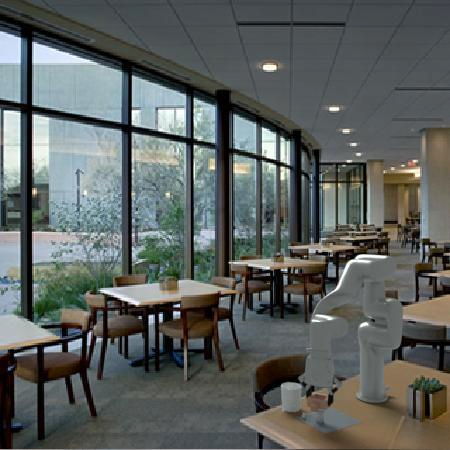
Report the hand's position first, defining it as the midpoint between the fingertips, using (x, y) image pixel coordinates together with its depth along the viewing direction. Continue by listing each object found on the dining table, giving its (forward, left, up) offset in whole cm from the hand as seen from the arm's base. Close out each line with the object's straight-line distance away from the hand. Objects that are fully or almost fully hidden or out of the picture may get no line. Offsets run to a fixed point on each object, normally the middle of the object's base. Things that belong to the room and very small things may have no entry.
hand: (319, 402), depth 171 cm
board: (-4, 0, -8) cm, 9 cm away
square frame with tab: (+2, +1, -1) cm, 2 cm away
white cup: (+1, -15, -9) cm, 17 cm away
